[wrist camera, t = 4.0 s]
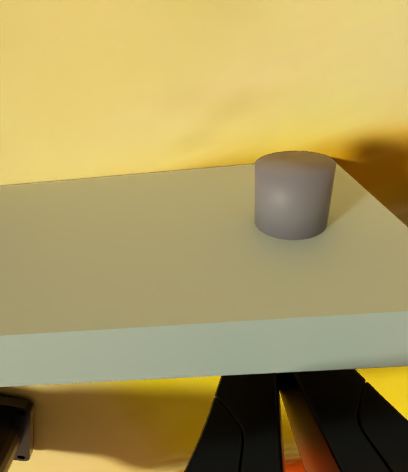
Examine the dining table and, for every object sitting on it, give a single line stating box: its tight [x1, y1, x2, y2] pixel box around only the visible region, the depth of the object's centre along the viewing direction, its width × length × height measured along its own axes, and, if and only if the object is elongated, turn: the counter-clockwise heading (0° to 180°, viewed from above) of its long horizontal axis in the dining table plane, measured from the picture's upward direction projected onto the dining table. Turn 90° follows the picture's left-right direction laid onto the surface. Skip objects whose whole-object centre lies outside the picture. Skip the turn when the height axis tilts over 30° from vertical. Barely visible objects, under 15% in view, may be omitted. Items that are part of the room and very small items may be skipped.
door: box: [0, 151, 408, 387], centre depth 7 cm, size 11×2×6 cm, turn 95°
